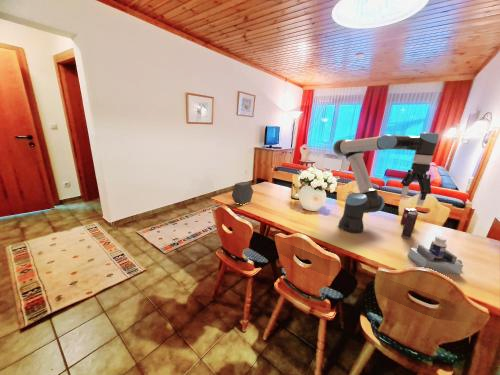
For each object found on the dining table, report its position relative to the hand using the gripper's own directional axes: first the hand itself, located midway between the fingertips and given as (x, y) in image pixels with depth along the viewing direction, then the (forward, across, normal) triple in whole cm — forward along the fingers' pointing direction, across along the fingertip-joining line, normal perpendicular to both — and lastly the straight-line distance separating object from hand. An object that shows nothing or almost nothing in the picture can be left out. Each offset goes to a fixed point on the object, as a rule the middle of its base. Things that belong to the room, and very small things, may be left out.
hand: (410, 201), depth 114 cm
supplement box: (+27, +11, -11) cm, 31 cm away
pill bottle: (+22, -19, -5) cm, 29 cm away
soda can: (+27, +29, -22) cm, 45 cm away
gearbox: (+27, -19, -7) cm, 34 cm away
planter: (+27, +46, +100) cm, 113 cm away
